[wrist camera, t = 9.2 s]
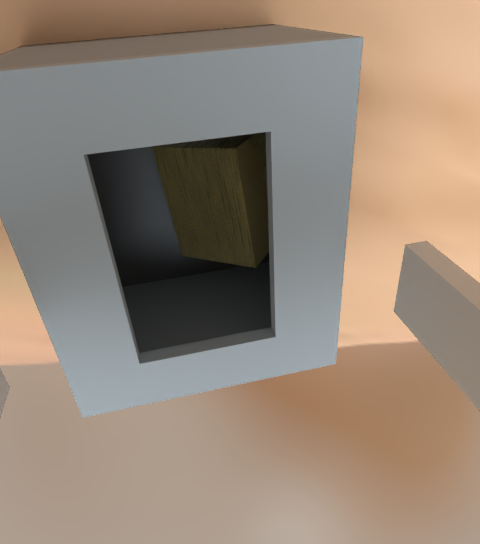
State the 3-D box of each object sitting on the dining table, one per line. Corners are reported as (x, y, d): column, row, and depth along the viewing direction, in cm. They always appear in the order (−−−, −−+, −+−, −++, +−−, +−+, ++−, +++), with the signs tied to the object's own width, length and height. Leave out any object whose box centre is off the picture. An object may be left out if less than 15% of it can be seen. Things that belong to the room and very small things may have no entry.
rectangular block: (151, 147, 20) (235, 148, 17) (192, 123, 22) (271, 121, 20) (182, 255, 23) (255, 268, 21) (215, 224, 25) (284, 232, 23)
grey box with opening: (22, 46, 20) (-57, 76, 11) (272, 24, 21) (363, 37, 13) (97, 291, 27) (82, 417, 19) (277, 261, 29) (335, 363, 21)
